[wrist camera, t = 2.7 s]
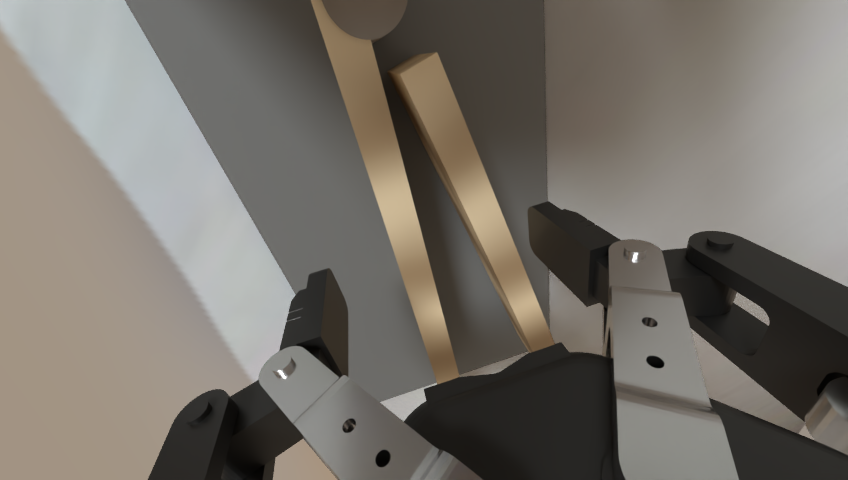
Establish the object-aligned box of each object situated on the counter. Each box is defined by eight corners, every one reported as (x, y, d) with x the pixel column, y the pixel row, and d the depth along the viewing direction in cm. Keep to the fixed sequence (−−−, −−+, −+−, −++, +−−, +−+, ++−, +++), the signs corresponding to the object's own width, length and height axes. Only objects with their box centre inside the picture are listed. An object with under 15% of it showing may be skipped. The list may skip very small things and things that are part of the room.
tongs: (307, -24, 12) (290, -61, 8) (381, -42, 12) (395, -85, 9) (433, 366, 24) (448, 418, 21) (469, 354, 24) (490, 404, 21)
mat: (101, -56, 11) (88, -62, 10) (532, -153, 12) (541, -163, 11) (361, 401, 25) (361, 408, 25) (545, 338, 26) (549, 343, 26)
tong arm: (386, 71, 14) (400, 74, 10) (414, 54, 14) (437, 52, 10) (517, 334, 24) (545, 378, 21) (534, 325, 24) (564, 368, 21)
